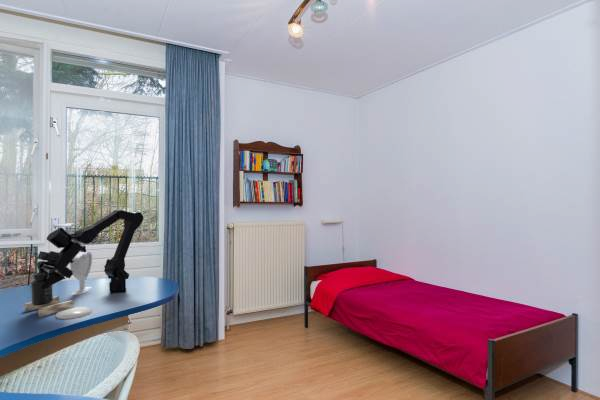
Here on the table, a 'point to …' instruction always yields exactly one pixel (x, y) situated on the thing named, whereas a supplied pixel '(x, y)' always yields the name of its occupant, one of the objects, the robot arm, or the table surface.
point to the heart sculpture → (81, 270)
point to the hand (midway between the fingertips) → (38, 287)
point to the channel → (49, 307)
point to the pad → (74, 312)
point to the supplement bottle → (37, 292)
